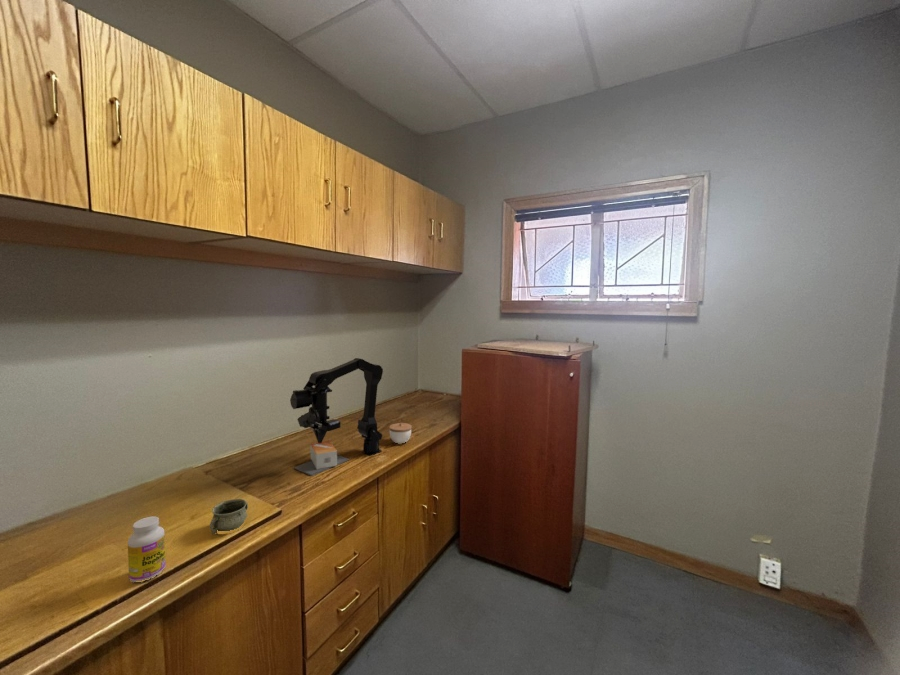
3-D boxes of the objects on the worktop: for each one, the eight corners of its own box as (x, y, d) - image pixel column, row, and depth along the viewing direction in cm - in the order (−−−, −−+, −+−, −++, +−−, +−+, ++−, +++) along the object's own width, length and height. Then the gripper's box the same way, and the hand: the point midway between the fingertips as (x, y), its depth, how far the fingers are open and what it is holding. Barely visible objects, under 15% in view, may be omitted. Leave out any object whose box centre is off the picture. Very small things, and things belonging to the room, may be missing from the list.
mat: (332, 454, 157) (332, 452, 157) (348, 460, 150) (348, 458, 150) (294, 468, 142) (294, 467, 142) (311, 476, 136) (311, 474, 136)
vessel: (222, 542, 96) (221, 520, 96) (198, 536, 99) (197, 514, 99) (259, 518, 108) (258, 498, 107) (236, 513, 110) (236, 493, 110)
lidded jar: (402, 447, 165) (402, 428, 165) (384, 443, 171) (384, 423, 170) (415, 440, 175) (416, 422, 174) (399, 436, 180) (399, 418, 180)
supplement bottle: (140, 588, 80) (137, 533, 79) (122, 579, 83) (119, 526, 82) (172, 568, 86) (170, 517, 85) (155, 561, 89) (153, 511, 88)
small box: (316, 454, 139) (309, 443, 150) (316, 470, 140) (310, 458, 151) (337, 450, 143) (329, 440, 154) (337, 465, 144) (329, 454, 155)
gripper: (286, 404, 139) (287, 443, 140) (316, 412, 129) (316, 454, 130) (311, 399, 148) (312, 435, 149) (341, 406, 138) (341, 445, 139)
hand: (319, 442), depth 141 cm, fingers closed
